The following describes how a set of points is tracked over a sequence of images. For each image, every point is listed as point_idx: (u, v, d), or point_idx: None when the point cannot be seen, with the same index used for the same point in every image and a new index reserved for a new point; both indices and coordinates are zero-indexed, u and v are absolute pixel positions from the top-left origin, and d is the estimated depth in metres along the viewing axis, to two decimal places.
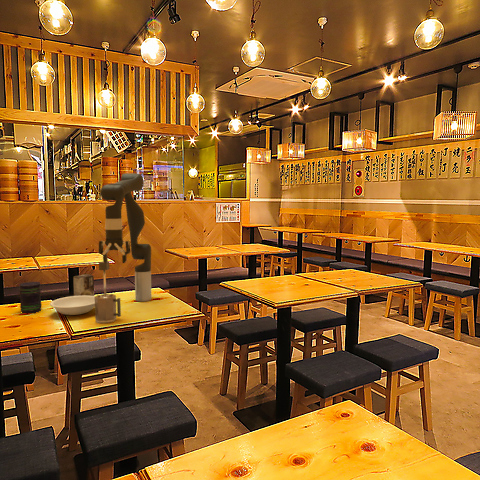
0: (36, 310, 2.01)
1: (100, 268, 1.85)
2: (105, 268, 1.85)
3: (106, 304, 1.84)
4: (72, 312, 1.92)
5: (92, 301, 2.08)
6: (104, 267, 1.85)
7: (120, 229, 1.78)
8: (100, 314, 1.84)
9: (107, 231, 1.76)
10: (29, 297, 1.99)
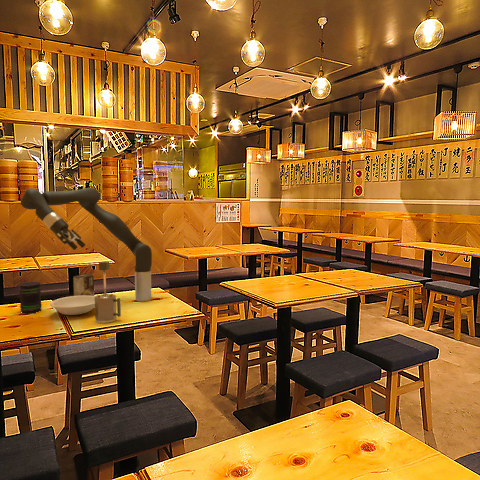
0: (36, 310, 2.01)
1: (100, 268, 1.85)
2: (105, 268, 1.85)
3: (106, 304, 1.84)
4: (72, 312, 1.92)
5: (92, 301, 2.08)
6: (104, 267, 1.85)
7: None
8: (100, 314, 1.84)
9: (60, 220, 1.83)
10: (29, 297, 1.99)
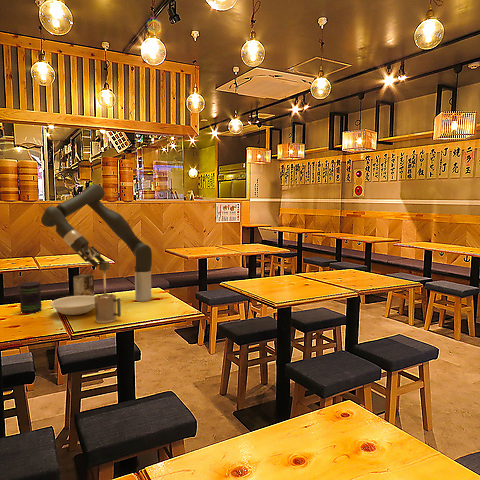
0: (36, 310, 2.01)
1: (100, 268, 1.85)
2: (105, 268, 1.85)
3: (106, 304, 1.84)
4: (72, 312, 1.92)
5: (92, 301, 2.08)
6: (104, 267, 1.85)
7: None
8: (100, 314, 1.84)
9: (80, 238, 1.83)
10: (29, 297, 1.99)
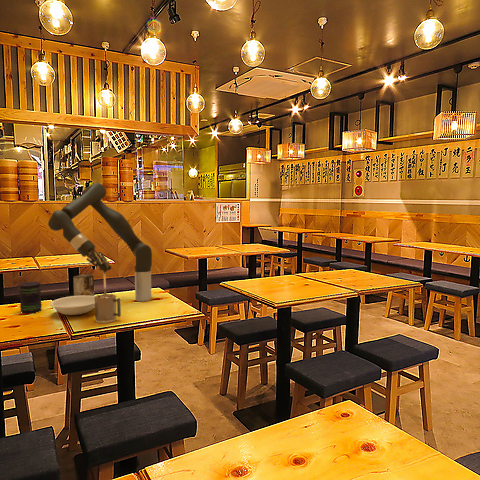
0: (36, 310, 2.01)
1: (100, 268, 1.85)
2: None
3: (106, 304, 1.84)
4: (72, 312, 1.92)
5: (92, 301, 2.08)
6: None
7: None
8: (100, 314, 1.84)
9: (87, 242, 1.84)
10: (29, 297, 1.99)
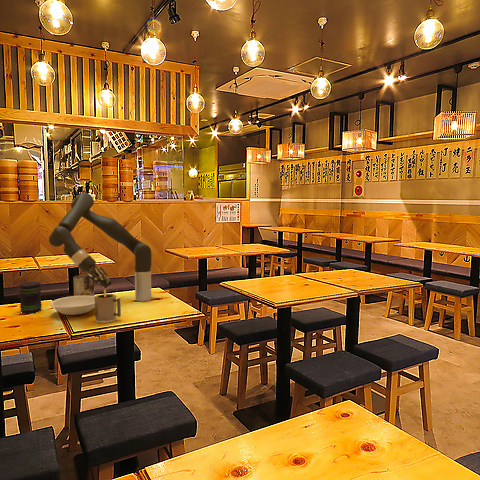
0: (36, 310, 2.01)
1: (101, 284, 1.86)
2: None
3: (106, 304, 1.84)
4: (72, 312, 1.92)
5: (92, 301, 2.08)
6: None
7: None
8: (100, 314, 1.84)
9: (88, 258, 1.85)
10: (29, 297, 1.99)
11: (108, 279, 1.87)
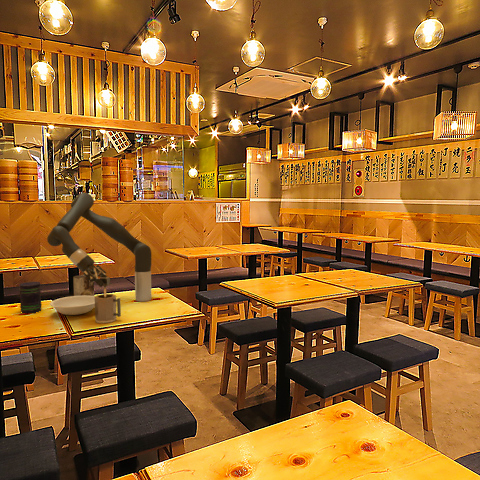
0: (36, 310, 2.01)
1: None
2: (106, 284, 1.86)
3: (106, 304, 1.84)
4: (72, 312, 1.92)
5: (92, 301, 2.08)
6: (105, 283, 1.86)
7: None
8: (100, 314, 1.84)
9: (86, 257, 1.84)
10: (29, 297, 1.99)
11: (108, 279, 1.87)
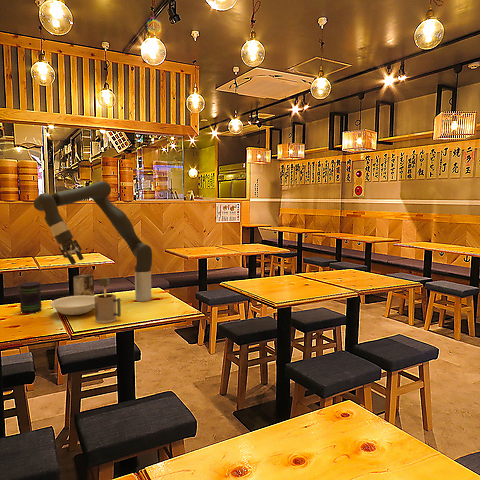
0: (36, 310, 2.01)
1: (101, 284, 1.86)
2: (106, 284, 1.86)
3: (106, 304, 1.84)
4: (72, 312, 1.92)
5: (92, 301, 2.08)
6: (105, 283, 1.86)
7: None
8: (100, 314, 1.84)
9: (66, 232, 1.86)
10: (29, 297, 1.99)
11: (108, 279, 1.87)
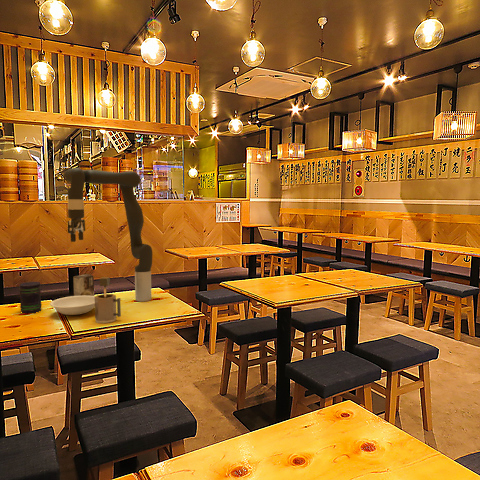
0: (36, 310, 2.01)
1: (101, 284, 1.86)
2: (106, 284, 1.86)
3: (106, 304, 1.84)
4: (72, 312, 1.92)
5: (92, 301, 2.08)
6: (105, 283, 1.86)
7: None
8: (100, 314, 1.84)
9: (80, 211, 1.92)
10: (29, 297, 1.99)
11: (108, 279, 1.87)
